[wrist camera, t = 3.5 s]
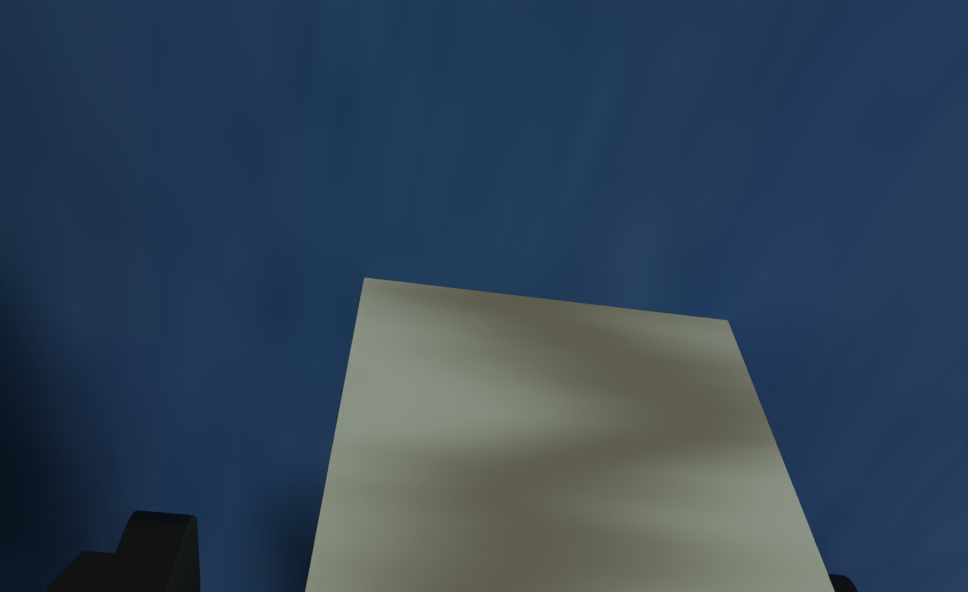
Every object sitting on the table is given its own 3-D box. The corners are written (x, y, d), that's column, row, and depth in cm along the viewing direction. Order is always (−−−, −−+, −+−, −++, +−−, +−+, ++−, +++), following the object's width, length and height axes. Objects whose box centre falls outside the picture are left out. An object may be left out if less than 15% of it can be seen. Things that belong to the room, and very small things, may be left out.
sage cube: (726, 316, 13) (859, 652, 8) (635, 543, 16) (696, 874, 12) (365, 274, 12) (302, 607, 8) (345, 517, 16) (292, 853, 11)
